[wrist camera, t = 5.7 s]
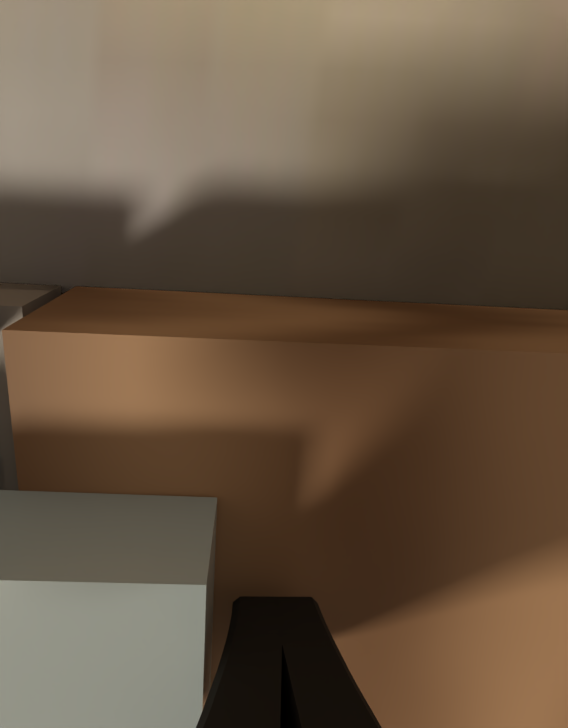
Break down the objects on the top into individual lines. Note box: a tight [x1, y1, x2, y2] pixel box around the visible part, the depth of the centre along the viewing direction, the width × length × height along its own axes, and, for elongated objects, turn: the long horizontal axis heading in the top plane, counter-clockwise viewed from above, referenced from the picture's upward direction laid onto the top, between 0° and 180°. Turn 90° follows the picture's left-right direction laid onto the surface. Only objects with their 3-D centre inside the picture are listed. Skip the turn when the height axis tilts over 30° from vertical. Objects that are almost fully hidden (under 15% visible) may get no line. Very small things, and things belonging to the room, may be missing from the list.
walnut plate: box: [2, 286, 568, 728], centre depth 11 cm, size 12×10×4 cm
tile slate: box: [0, 490, 217, 728], centre depth 8 cm, size 4×4×2 cm
